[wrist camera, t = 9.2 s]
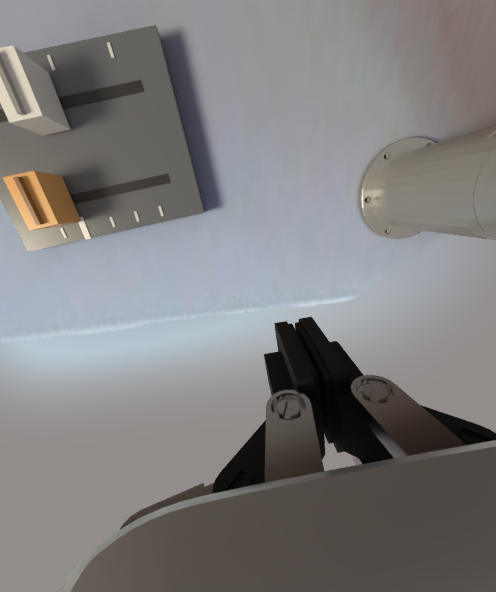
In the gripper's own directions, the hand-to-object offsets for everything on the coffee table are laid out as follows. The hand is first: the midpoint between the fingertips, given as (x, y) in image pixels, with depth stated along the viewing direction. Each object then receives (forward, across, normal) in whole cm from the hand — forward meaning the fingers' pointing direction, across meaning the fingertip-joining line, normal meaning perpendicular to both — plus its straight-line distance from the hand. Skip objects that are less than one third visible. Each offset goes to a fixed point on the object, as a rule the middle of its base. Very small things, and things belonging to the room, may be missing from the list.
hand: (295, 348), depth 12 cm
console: (+26, +16, -14) cm, 34 cm away
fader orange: (+23, +21, -10) cm, 32 cm away
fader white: (+23, +19, -19) cm, 35 cm away
